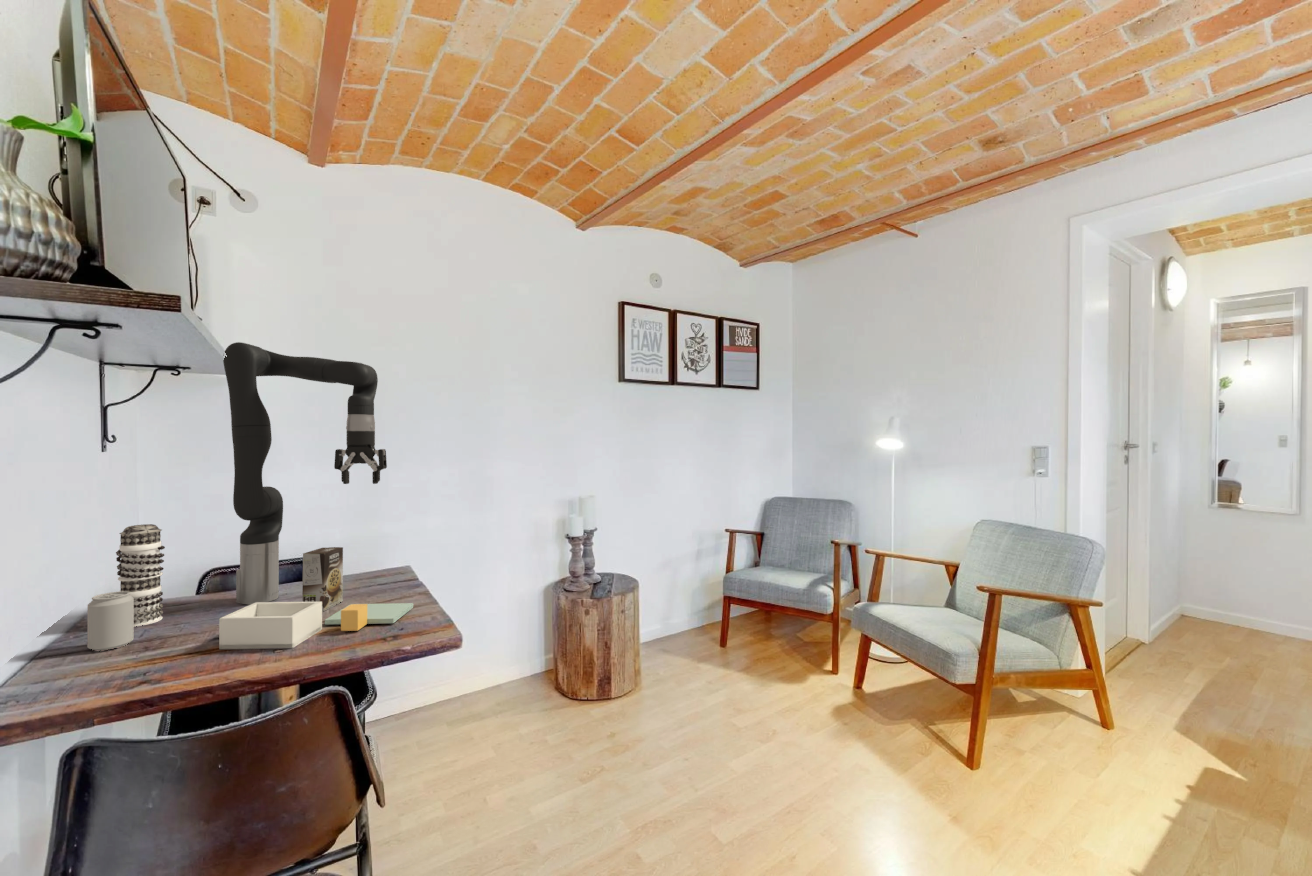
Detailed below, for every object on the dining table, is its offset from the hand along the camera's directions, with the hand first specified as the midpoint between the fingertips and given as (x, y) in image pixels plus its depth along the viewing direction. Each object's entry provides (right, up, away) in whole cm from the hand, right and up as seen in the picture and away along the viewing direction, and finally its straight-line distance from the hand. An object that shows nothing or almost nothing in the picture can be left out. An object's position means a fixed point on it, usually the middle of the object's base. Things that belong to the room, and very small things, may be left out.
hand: (360, 483), depth 163 cm
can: (-36, -34, -39) cm, 63 cm away
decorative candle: (-45, -34, -22) cm, 61 cm away
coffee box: (-6, -34, -9) cm, 36 cm away
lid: (+13, -34, -21) cm, 42 cm away
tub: (-2, -34, -34) cm, 48 cm away
